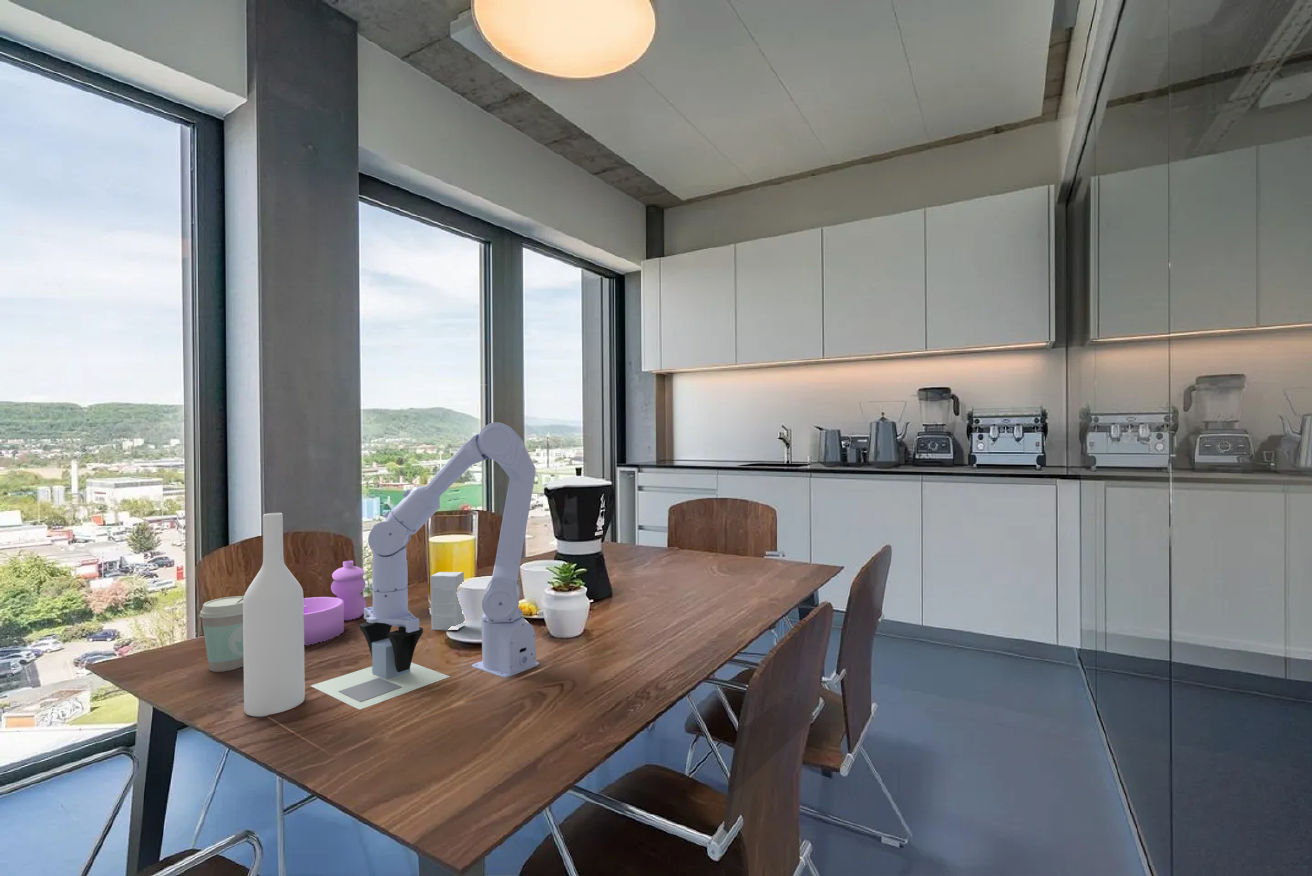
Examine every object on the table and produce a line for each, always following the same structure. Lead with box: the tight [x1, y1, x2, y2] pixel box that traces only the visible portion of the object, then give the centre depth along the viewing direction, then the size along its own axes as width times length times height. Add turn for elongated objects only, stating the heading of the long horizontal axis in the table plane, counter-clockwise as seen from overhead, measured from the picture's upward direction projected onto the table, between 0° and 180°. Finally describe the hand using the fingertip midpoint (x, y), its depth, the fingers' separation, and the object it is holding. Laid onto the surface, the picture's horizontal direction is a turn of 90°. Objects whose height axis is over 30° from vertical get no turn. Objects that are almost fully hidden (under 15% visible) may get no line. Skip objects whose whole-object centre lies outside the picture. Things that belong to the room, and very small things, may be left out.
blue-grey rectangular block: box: [371, 638, 410, 680], centre depth 109 cm, size 4×4×6 cm
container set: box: [304, 560, 367, 646], centre depth 137 cm, size 25×15×13 cm, turn 167°
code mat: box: [310, 661, 451, 710], centre depth 106 cm, size 16×16×1 cm
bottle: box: [243, 512, 306, 718], centre depth 97 cm, size 8×8×30 cm
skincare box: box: [429, 571, 466, 632], centre depth 136 cm, size 6×4×12 cm
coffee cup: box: [199, 595, 244, 673], centre depth 114 cm, size 8×9×12 cm
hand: (391, 665), depth 109 cm, fingers open, 7 cm apart
